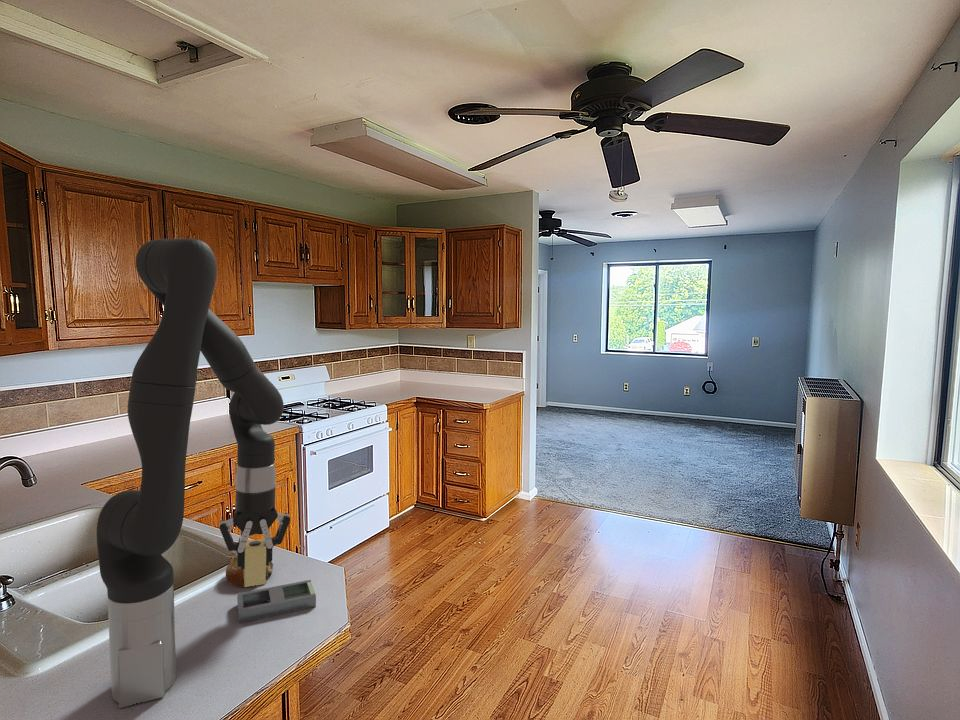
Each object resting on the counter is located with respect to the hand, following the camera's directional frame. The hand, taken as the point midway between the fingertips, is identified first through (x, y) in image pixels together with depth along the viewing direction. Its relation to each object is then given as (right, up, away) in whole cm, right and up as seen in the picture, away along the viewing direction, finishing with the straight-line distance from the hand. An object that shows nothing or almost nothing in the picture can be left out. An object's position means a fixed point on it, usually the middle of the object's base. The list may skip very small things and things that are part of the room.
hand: (254, 565), depth 112 cm
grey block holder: (+3, -10, +3) cm, 11 cm away
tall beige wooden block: (0, -3, 0) cm, 3 cm away
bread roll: (-7, -9, +15) cm, 18 cm away
